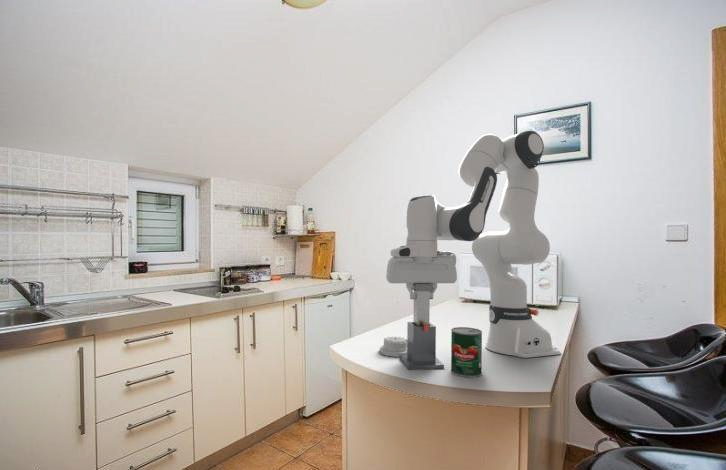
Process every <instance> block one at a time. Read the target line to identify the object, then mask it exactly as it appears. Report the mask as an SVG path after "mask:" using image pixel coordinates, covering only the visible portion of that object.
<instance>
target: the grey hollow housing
mask: <svg viewBox="0 0 726 470" xmlns="http://www.w3.org/2000/svg"><path fill="white" fill-rule="evenodd" d="M436 329H437V327H436V325H435V324H432V323H431V322H430V321H429V326H428V323H422V326H415V325H414V324H413V321H407V331H406V332H407V336H406V337H407V338H406V339H407V355H400V357H399V359H400V361H401V362H402V363H403V365H404V366H405V367H406V368H407V370H409V371H411V370H413V371H415V370H438V369H439V370H442V369H445V364H444V363H443V362H442V361H441V360H440V359H438V358H437V357H436V356H437V354H436V353H437V351H436V349H437V345H436V344H437V343H436V342H437V337H436V336H437V333H436V332H437V330H436Z"/></svg>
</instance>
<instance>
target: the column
mask: <svg viewBox="0 0 726 470" xmlns="http://www.w3.org/2000/svg"><path fill="white" fill-rule="evenodd" d="M411 289H412V291H413V293H416V299H413V319H412V320H413V321H412V322H413V324H414V325H415V326H422V323H428V326H429V322H430V306H431V305H430V304H431V303H430V300H431V299H430V291H433V284H431V283H413V287H411Z"/></svg>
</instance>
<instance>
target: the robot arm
mask: <svg viewBox="0 0 726 470" xmlns="http://www.w3.org/2000/svg"><path fill="white" fill-rule="evenodd" d="M544 146H545V145H544V141H543V139H542V136H541V135H540V134H539V133H537V132H536V131H534V130H525V131H520V132H519V133H517V134H514V135H511V136H508V137H506V138H504V139H502V138H501V137H500V136H498V135H495V134H492V133H486V134H483V135H481V136H480V137H478V139H477V140H476V141H475V142H474V143H473V144H472V145H471V146H470V148H468V150H467V152H466V154H465V155H464V156H463V158H462V160H461V162H460V164H459V167H458V175H459V178H460V179H461V181H462V182H463V183H464V184H465V185H466V186H468V187H469V188H471V189H472V191H471V193H470V196H469V198H468V200H467V201H466V203H464V204H461V205H459V206H454V207H446V206H445V205H443V204H441V203H440V202H439V201H438V200H437V199H436V196H435V195H432V194H425V195H419V196H414V197H412V198H411V199H409V200H408V204H407V210H406V228H407V237H406V244H405V245H401V246H399V247H396V248H393V249H391V250H390V256H391V257H390V259H389V260H388V262H387V266H386V273H385V274H386V278H385V279H386V281H387V282H388V283H389V284H405V288H406V289H407V292H408V293H409V299H410V300H414V299H416V293H414V290H412V289H411V287H413V283H431V284H433V291H430V300H434V293H435V292H436V290H437V288H438V284H455V283H456V282H457V280H458V276H457V267H456V264H457V256H456V254H455V253H453V252H452V251H442V250H438V241H461V242H472V243H471V250H472V254H473V256H474V258H475V259H476V260H477V261H479V262H480V263H481V265H482V266H483V268H484V269H485V271H486V273H487V277H488V281H489V292H490V304H489V307H488V309H489V311H488V318H489V321H488V322H489V329H488V337H487V340H486V343H485V348H486V349H487V350H489V351H492V352H494V353H498V354H503V355H508V356H509V355H510V356H514V357H517V358H523V359H525V358H527V359H528V358H529V359H530V358H536V357H537V358H538V357H545V356H546V357H547V356H554V355H557V356H558V355H561V350H560V349H559V348H558V347H556V346H554V345H553V342H552V337H551V333H550V332H549V331H548V330H547V329H545V327H543V326H542V325H540V324H539V323H538V322H536V321H535V320H534V319H533V316H537V317H538V315H539V314H540V313H539V310H538V309H536V308H530V307H528V303H527V302H528V300H527V299H528V298H527V297H528V296H527V295H528V291H527V289H528V287H527V283H526V281H525V280H524V279H523V278H522V277H520V276H519V275H517V274H516V272H514V270H513V267H512V265H524V266H526V265H534V264H540V263H543V262H544V261H546V259H547V258H548V256H549V255H550V249H551V245H550V240H549V239H548V238H547V236H546V235H545V234H544V233H543V232H542V231H540V230H539V228H538V227H537V225H536V221H535V211H536V206H537V205H536V204H537V200H538V194H539V188H540V186H539V185H540V175H539V172H538V170H537V169H536V168H537V166H538V165H539V164H540V162H541V158H542V157H543V154H544V148H545V147H544ZM505 172H506V182H505V185H504V188H503V191H502V196H501V200H500V203H499V208H498V212H499V213H498V214H499V216H500V217H501V219H502V220H503V221H504V222H506V223H507V224H509V228H508V229H507V230H503V231H501V230H498V231H497V230H496V231H487V232H484V233H483V231H484V229H485V225H486V216H487V213H488V211H489V207H490V204H491V202H492V199H493V196H494V194H495V193H494V192H495V191H496V188H497V183H498V175H500V174H502V173H505Z"/></svg>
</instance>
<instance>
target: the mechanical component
mask: <svg viewBox="0 0 726 470" xmlns="http://www.w3.org/2000/svg"><path fill="white" fill-rule="evenodd" d="M379 353H380V354H381V355H384V356H386V357H395V358H400V355H407V338H405V337H401V336H387V337H384V338H383V345H381V346H380V347H379Z"/></svg>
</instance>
